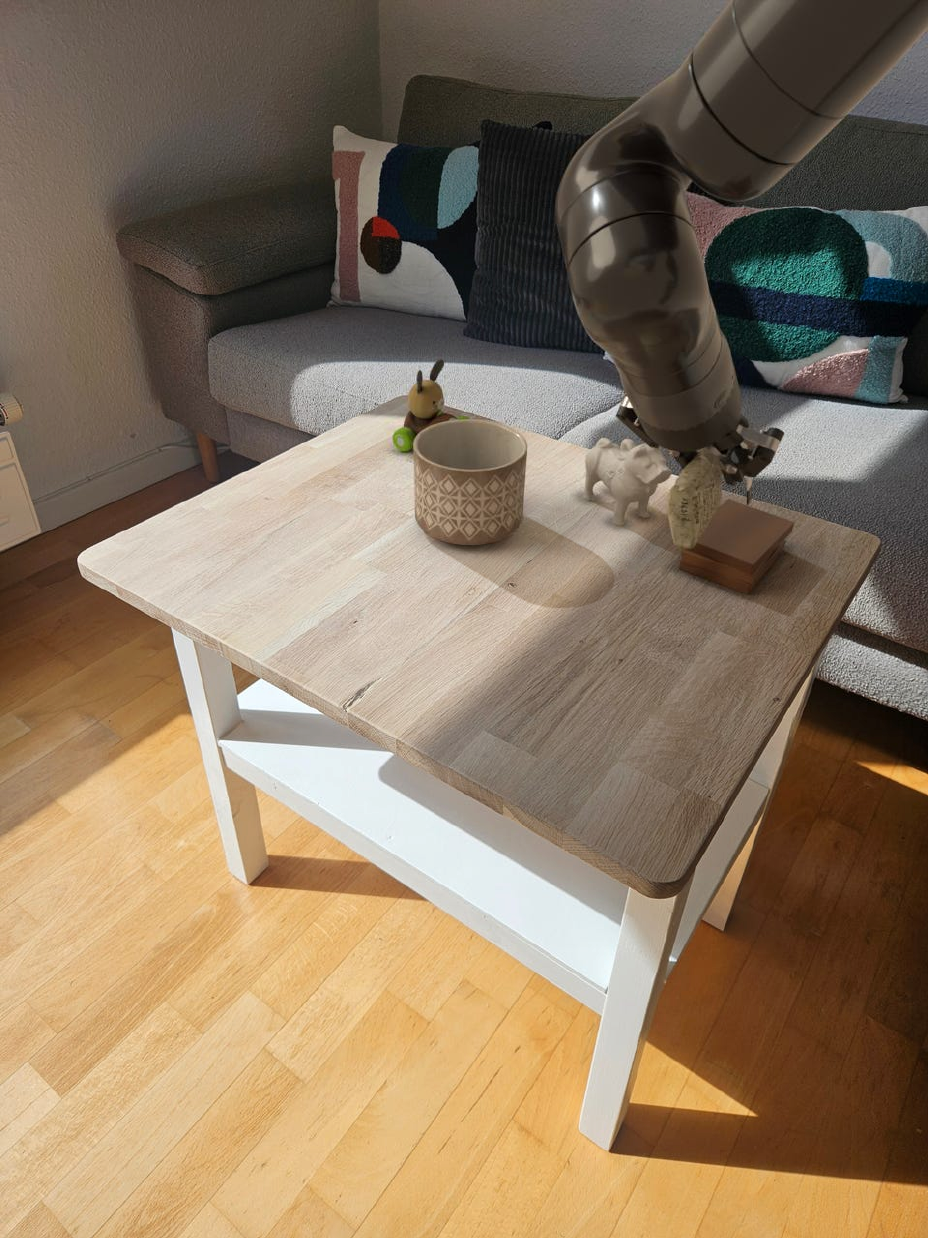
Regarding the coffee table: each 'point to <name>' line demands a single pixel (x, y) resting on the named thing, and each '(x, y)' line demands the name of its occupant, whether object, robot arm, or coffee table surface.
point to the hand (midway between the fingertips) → (713, 467)
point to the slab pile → (737, 546)
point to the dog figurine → (625, 474)
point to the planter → (469, 481)
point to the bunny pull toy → (423, 409)
